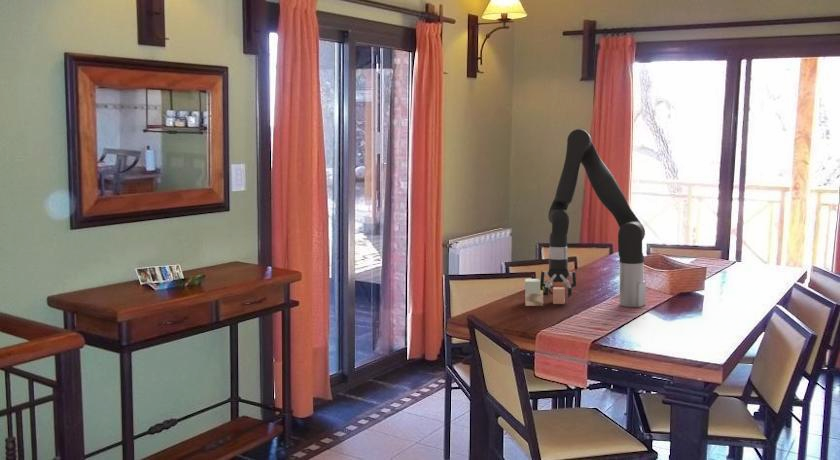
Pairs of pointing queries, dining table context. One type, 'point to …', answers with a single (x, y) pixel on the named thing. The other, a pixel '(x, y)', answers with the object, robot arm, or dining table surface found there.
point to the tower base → (534, 299)
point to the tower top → (532, 286)
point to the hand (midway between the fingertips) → (558, 296)
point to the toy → (544, 287)
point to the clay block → (558, 295)
